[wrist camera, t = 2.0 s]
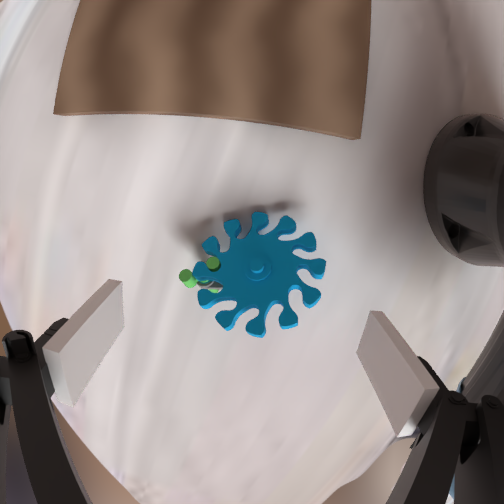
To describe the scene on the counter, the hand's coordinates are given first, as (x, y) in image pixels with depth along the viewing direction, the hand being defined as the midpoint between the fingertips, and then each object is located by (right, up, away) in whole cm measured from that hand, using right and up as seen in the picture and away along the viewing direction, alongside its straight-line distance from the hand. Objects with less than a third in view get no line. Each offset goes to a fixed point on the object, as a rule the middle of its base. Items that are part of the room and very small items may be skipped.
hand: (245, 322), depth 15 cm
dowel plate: (-3, +25, +5) cm, 26 cm away
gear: (0, +3, +12) cm, 12 cm away
